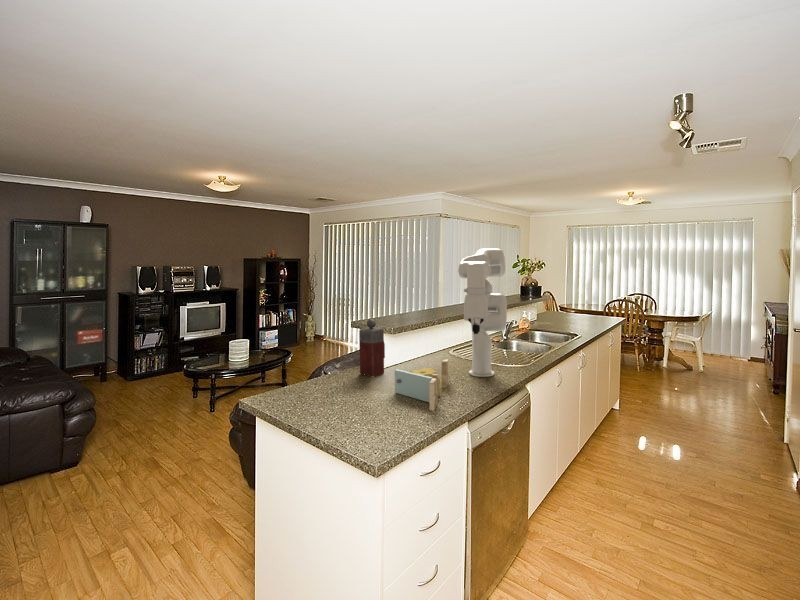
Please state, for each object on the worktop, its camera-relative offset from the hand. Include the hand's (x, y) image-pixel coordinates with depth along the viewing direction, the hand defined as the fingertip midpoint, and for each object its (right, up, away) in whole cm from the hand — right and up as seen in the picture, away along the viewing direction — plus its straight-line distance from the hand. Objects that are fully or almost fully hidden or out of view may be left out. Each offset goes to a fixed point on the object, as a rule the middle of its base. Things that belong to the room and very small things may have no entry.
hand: (476, 333), depth 187 cm
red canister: (-47, -23, +34) cm, 62 cm away
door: (-28, -26, -7) cm, 39 cm away
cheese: (-23, -26, -1) cm, 35 cm away
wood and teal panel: (-16, -26, -3) cm, 31 cm away
